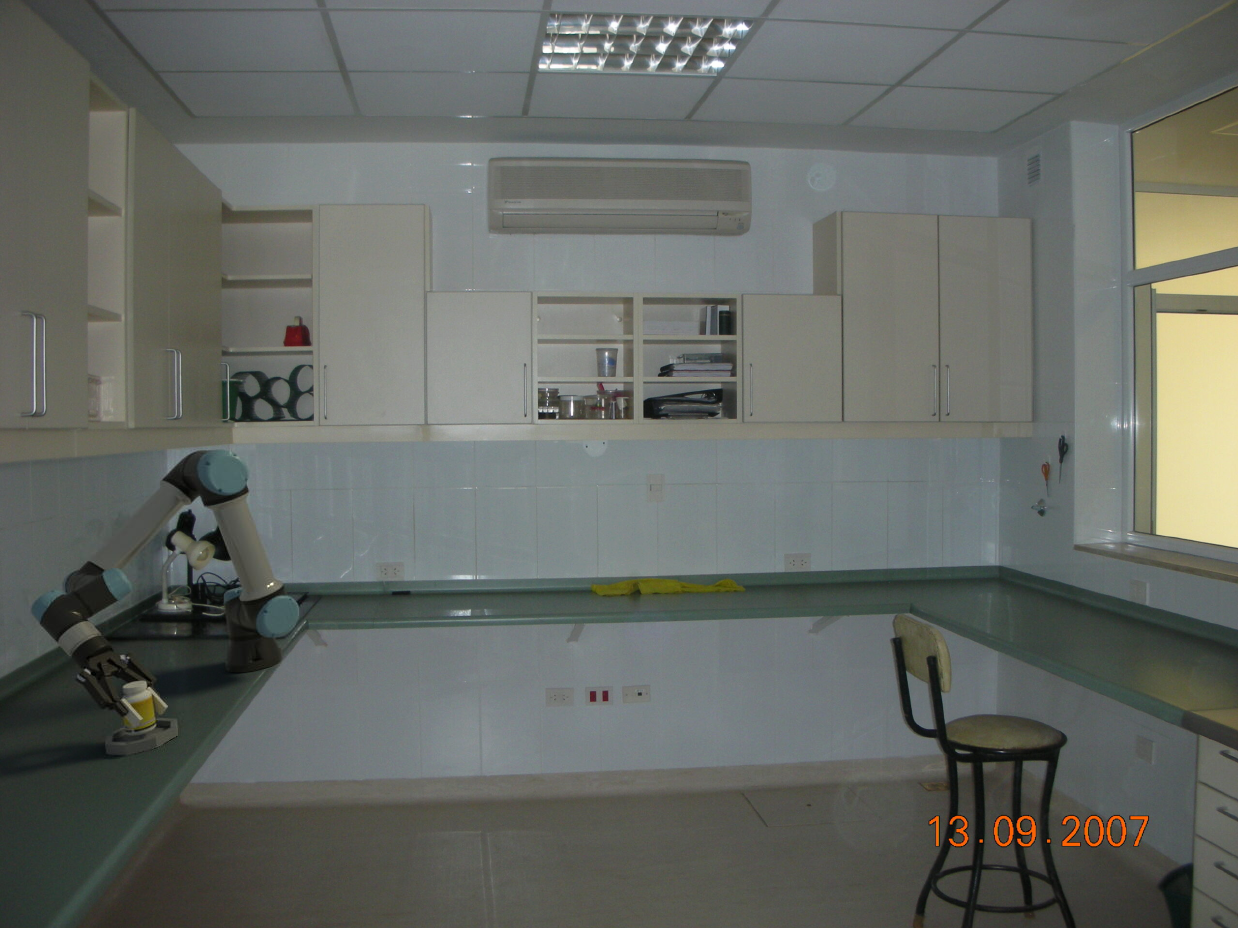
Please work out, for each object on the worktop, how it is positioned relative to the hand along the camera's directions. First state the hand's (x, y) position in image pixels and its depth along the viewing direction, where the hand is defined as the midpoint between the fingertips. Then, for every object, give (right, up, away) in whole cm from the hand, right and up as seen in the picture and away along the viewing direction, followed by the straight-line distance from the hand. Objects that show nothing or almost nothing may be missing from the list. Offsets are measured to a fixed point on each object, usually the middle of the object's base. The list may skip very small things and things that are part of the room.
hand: (151, 716), depth 185 cm
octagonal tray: (-3, -6, +2) cm, 7 cm away
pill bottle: (-3, -4, +1) cm, 5 cm away
